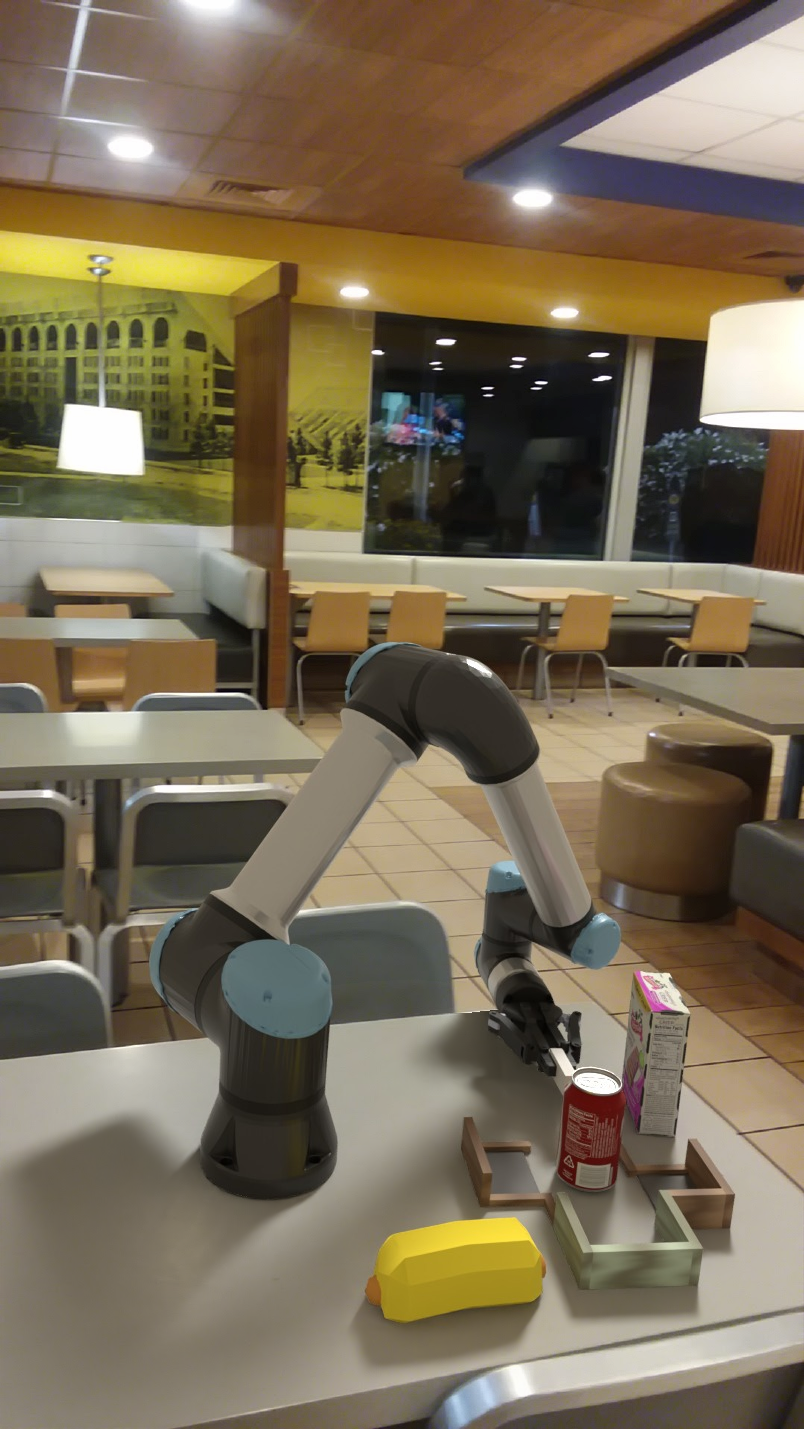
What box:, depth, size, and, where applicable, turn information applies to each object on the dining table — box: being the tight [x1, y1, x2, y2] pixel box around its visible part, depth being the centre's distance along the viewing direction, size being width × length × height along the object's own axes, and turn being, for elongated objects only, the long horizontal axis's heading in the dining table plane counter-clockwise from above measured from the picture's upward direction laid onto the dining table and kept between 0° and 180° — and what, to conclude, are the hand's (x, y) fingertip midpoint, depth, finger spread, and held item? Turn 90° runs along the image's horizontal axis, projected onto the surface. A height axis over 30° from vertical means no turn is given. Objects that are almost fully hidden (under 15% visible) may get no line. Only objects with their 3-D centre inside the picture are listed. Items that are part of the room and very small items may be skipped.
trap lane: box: [460, 1116, 736, 1291], centre depth 114 cm, size 26×23×4 cm
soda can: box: [555, 1066, 627, 1193], centre depth 119 cm, size 7×7×12 cm
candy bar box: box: [621, 970, 691, 1138], centre depth 133 cm, size 11×5×16 cm, turn 179°
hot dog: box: [364, 1216, 547, 1324], centre depth 100 cm, size 18×7×8 cm
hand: (570, 1086), depth 127 cm, fingers closed
